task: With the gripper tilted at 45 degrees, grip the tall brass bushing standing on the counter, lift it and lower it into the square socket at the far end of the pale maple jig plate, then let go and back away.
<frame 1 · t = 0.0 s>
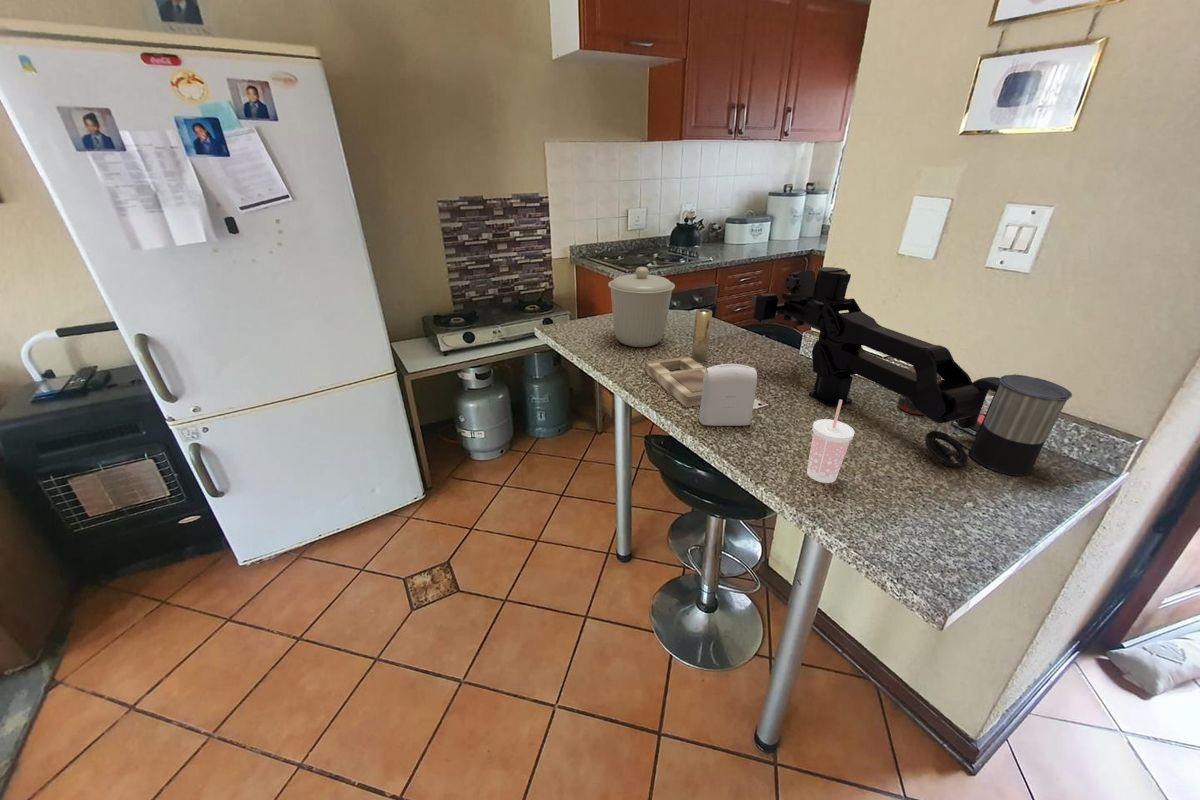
hand: (767, 296, 120), 17 cm above the worktop, tool horizontal, fingers open, 9 cm apart
canister: (638, 342, 139), on the worktop
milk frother: (975, 461, 85), on the worktop
brass bushing: (698, 359, 127), on the worktop
supplement bottle: (912, 410, 102), on the worktop
jig plate: (687, 385, 112), on the worktop
photo printer: (724, 423, 97), on the worktop
beverage cup: (821, 475, 81), on the worktop
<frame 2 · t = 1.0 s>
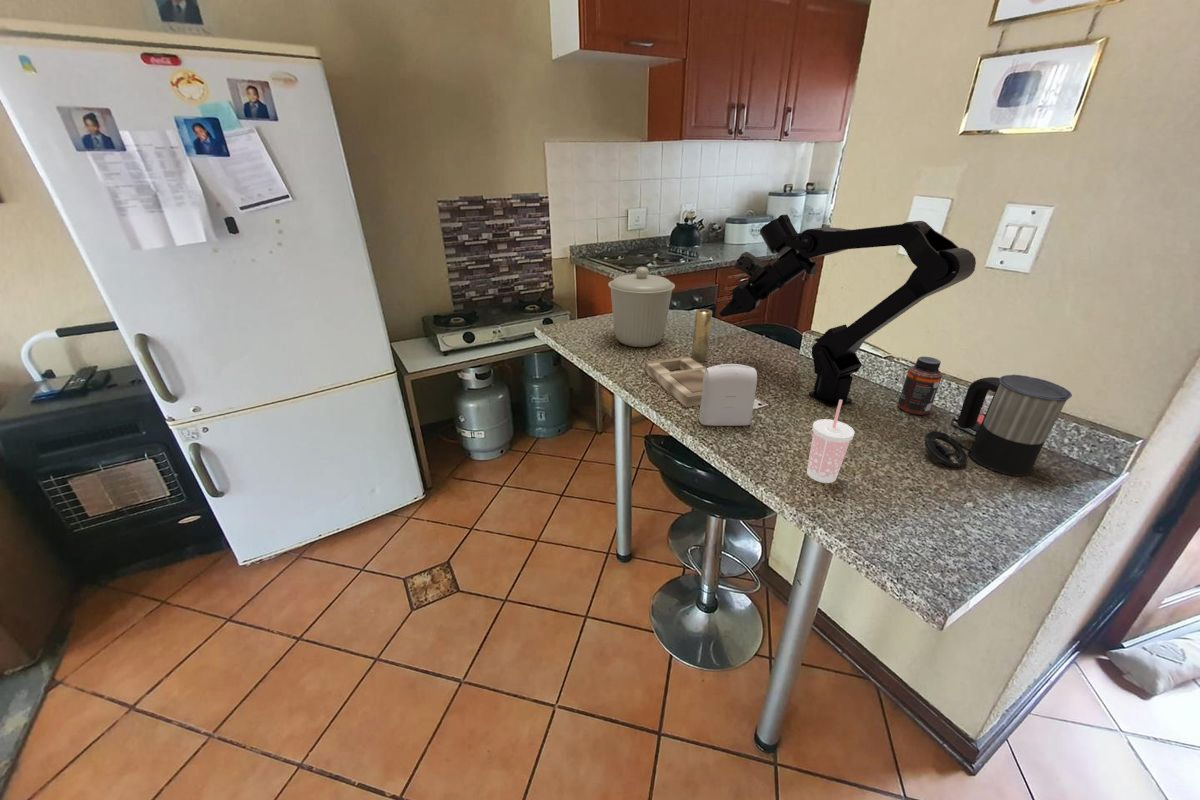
hand: (727, 310, 118), 14 cm above the worktop, tool tilted 45°, fingers open, 9 cm apart
nothing on the worktop moved.
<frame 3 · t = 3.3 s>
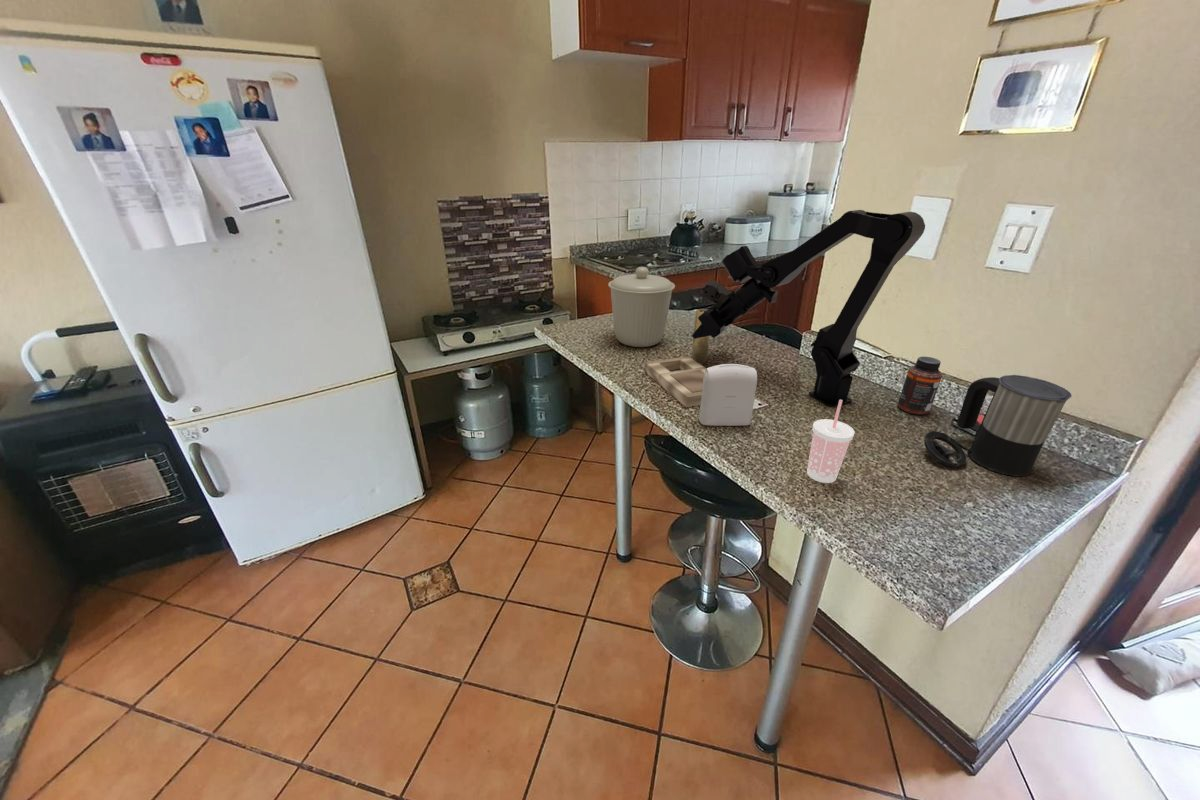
hand: (696, 334, 124), 7 cm above the worktop, tool tilted 45°, fingers closed on brass bushing, 4 cm apart
brass bushing: (698, 359, 127), on the worktop, touching gripper
everything else where it was.
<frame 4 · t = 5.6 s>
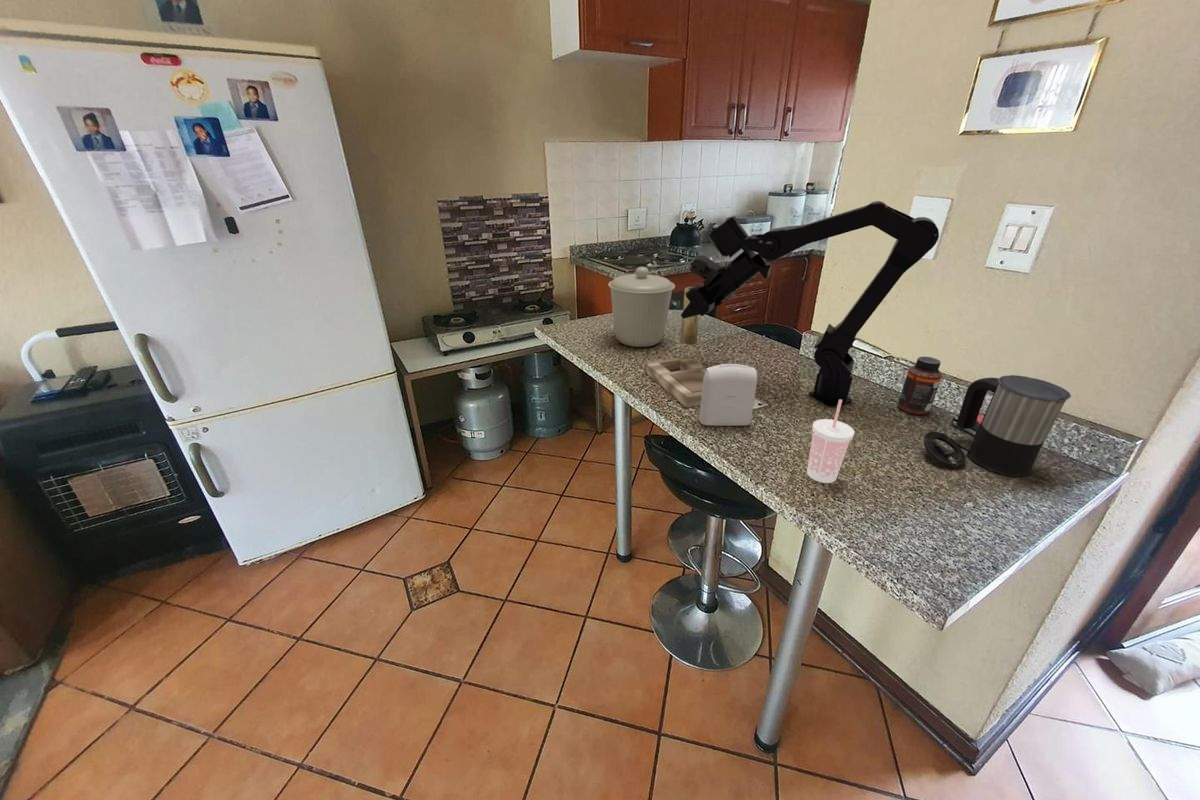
hand: (685, 314, 116), 14 cm above the worktop, tool tilted 45°, fingers closed on brass bushing, 4 cm apart
brass bushing: (688, 341, 118), point 7 cm above the worktop, touching gripper
everything else where it was.
when the fingers open (8 cm above the worktop, at t = 7.7 s): brass bushing drops 1 cm, resting in jig plate.
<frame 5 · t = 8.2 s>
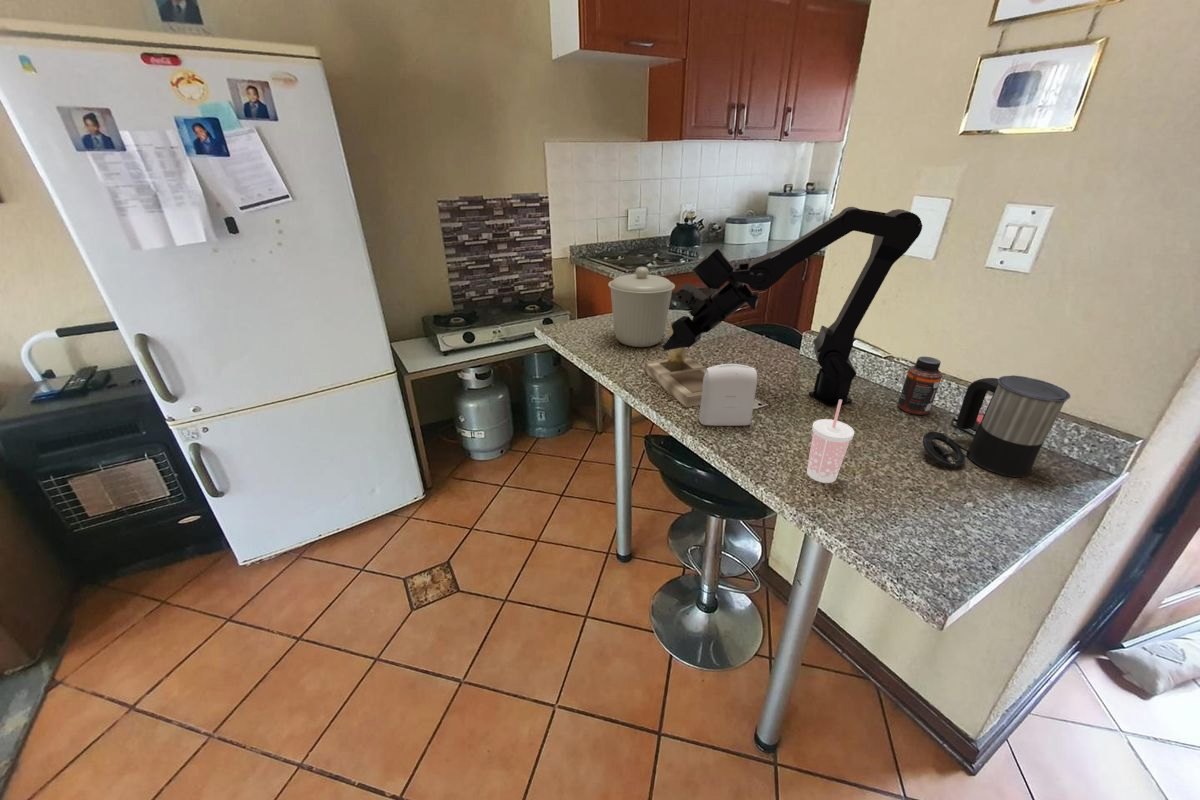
hand: (672, 342, 114), 8 cm above the worktop, tool tilted 45°, fingers open, 9 cm apart
brass bushing: (675, 375, 117), resting in jig plate
everything else where it was.
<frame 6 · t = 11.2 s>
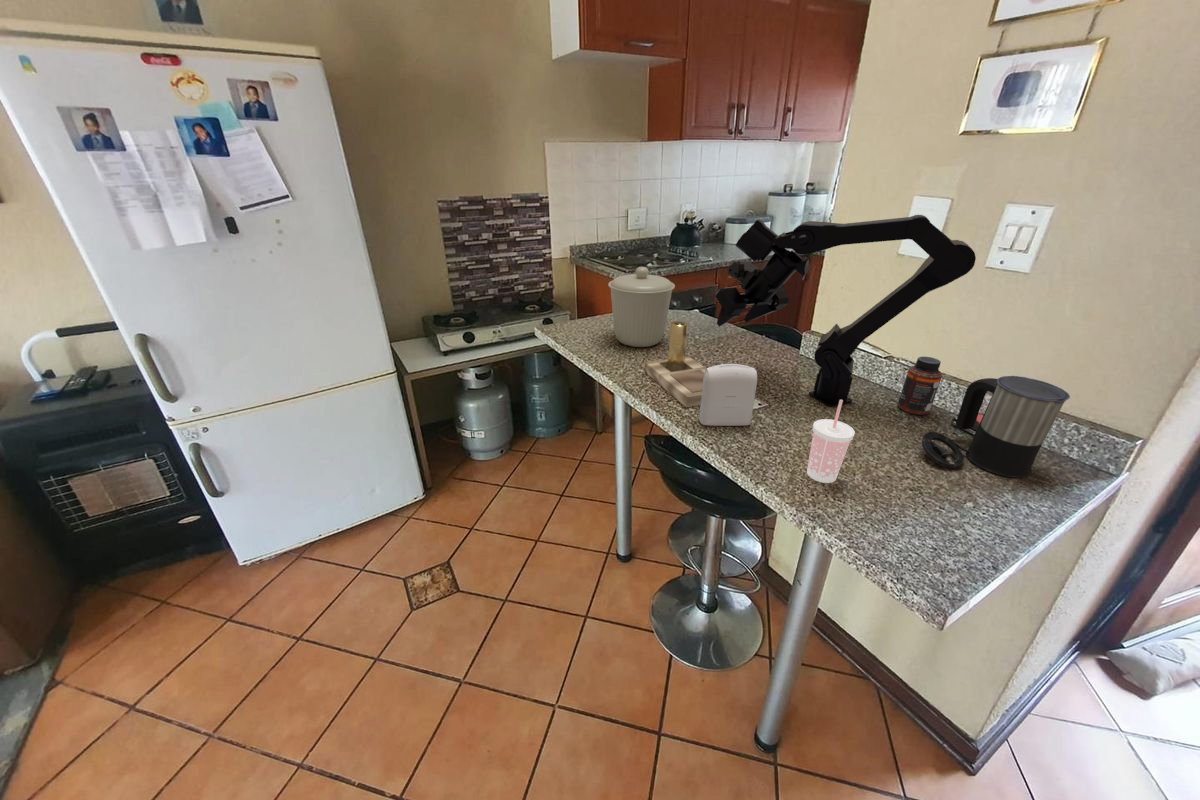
hand: (732, 322, 115), 12 cm above the worktop, tool tilted 35°, fingers open, 9 cm apart
nothing on the worktop moved.
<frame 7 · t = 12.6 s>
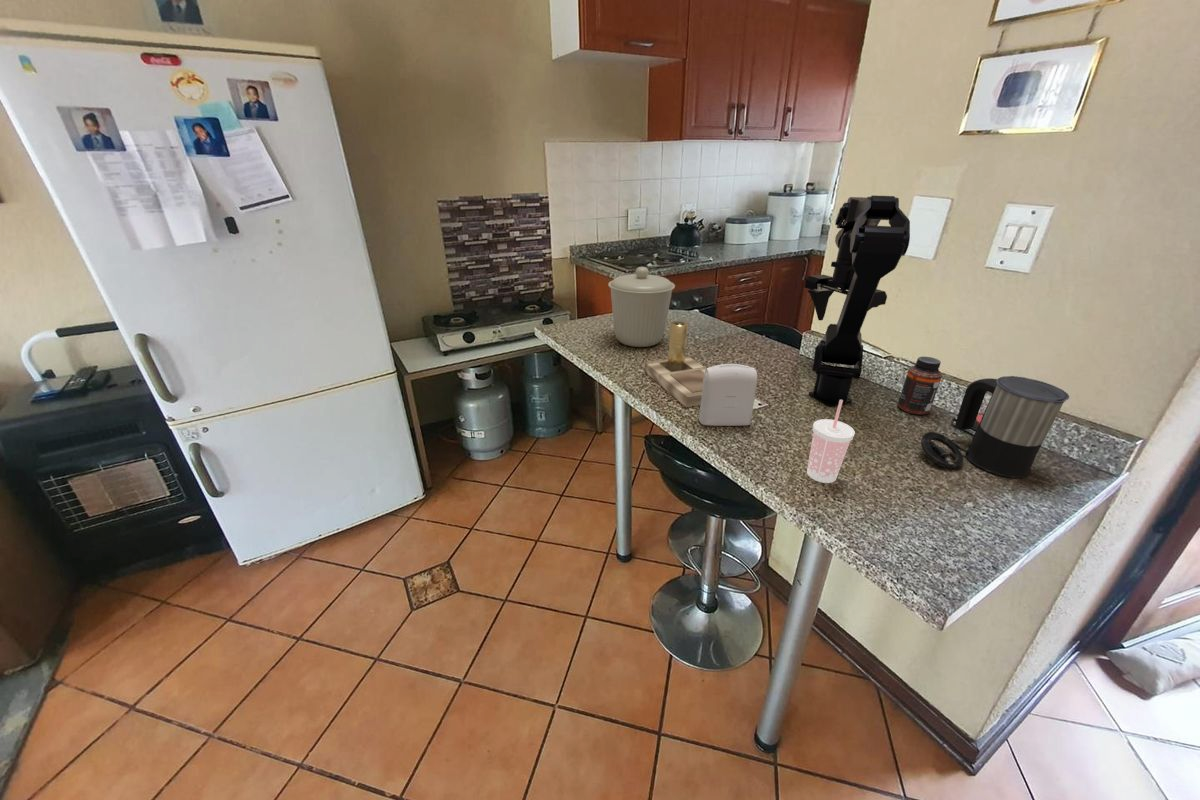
hand: (835, 325, 114), 12 cm above the worktop, tool pointing down, fingers open, 9 cm apart
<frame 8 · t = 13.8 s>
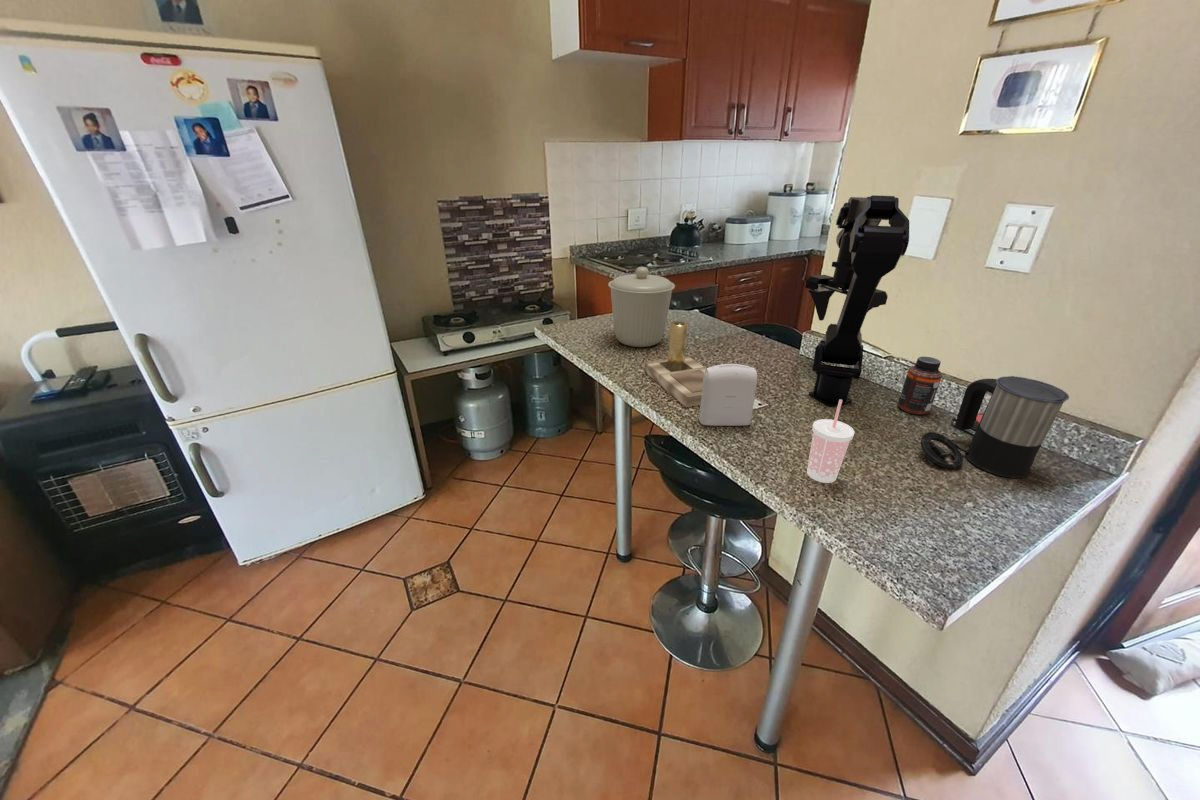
hand: (835, 325, 114), 12 cm above the worktop, tool pointing down, fingers open, 9 cm apart
at the end: brass bushing 0.0 cm from the target spot, resting in jig plate; brass bushing tilted 0°; the gripper is holding nothing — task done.
